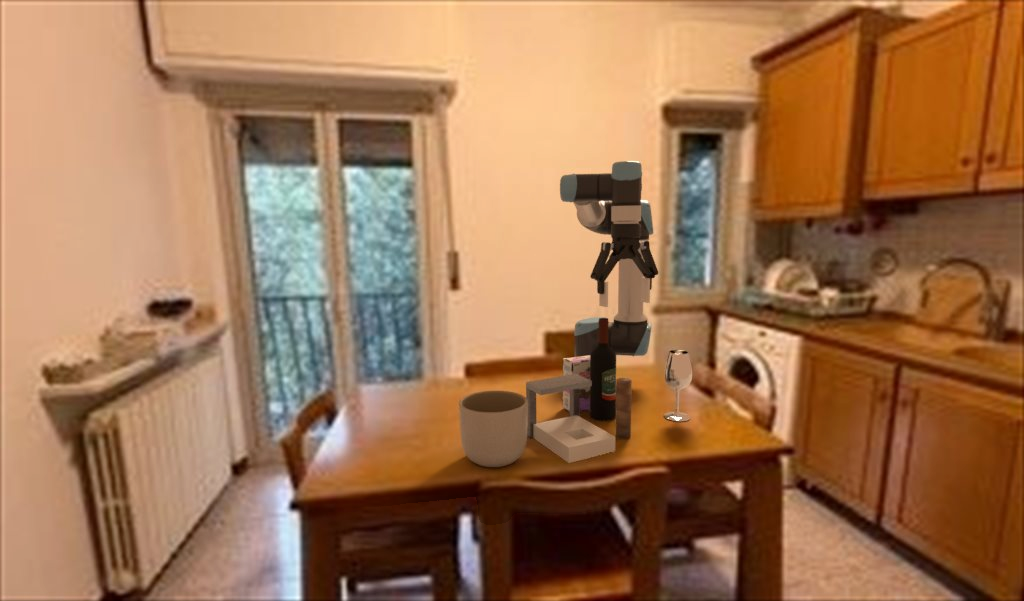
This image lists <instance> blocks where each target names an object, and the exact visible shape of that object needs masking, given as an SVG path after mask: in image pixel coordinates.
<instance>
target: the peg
mask: <svg viewBox="0 0 1024 601" xmlns="http://www.w3.org/2000/svg"><path fill="white" fill-rule="evenodd" d="M632 387H633V386H632V379H631V378H628V377H618V378H616V418H615V438H617V439H620V440H629V439H631V438H630V437H631V436H632V435H631V434H632Z"/></svg>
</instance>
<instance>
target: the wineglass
mask: <svg viewBox="0 0 1024 601" xmlns="http://www.w3.org/2000/svg"><path fill="white" fill-rule="evenodd" d="M667 354H668V355H667V358H666V362H665V368H664V380H665V382H666V383H667V385H668V386H669V387H670V388H672V389H673V390H675V395H676V397H675V398H676V399H675V411H668V412H665V413H664V414H663V417H664V418H665V419H666V420H668V421H672V422H687V421H689V420H690V419H691V416H690V415H689V414H688V413H685V412H681V411H680V410H679V409H680V408H679V407H680V406H679V405H680V404H679V401H680V391H681V390H684V389H685V388H687V387H689V385H690V384H691V382H692V378H693V370H692V369H693V368H692V364H691V357H690V353H689V351H687V350H683V349H671V350H668V353H667Z"/></svg>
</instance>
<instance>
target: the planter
mask: <svg viewBox="0 0 1024 601" xmlns="http://www.w3.org/2000/svg"><path fill="white" fill-rule="evenodd" d="M458 413H459V414H458V415H459V428H460V429H459V431H460V440H461V447H462V450H463V452H464V454H465V456H466V457H467V458H468V459H469V460H470V461H471V462H473V463H474V464H476V465H479V466H481V467H486V468H500V467H505V466H509V465H511V464H513V463H514V462H516V461H517V460H519V459H520V458H521V457H522V455H523V453H524V452H525V449H526V446H527V439H528V437H527V426H528V400H527V398H526V396H524V395H523V394H521V393H518V392H514V391H508V390H483V391H477V392H473V393H470V394H467V395H464V396H463V397H462V398H460V399H459V401H458Z"/></svg>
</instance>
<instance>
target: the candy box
mask: <svg viewBox="0 0 1024 601" xmlns="http://www.w3.org/2000/svg"><path fill="white" fill-rule="evenodd" d="M571 374H577V375H580V376H582V377H584V378H587V379H589V380H590V355H588V356H580V357H575V356H574V357H563V358H562V376H565V375H571ZM562 409H564V410H565V411H566V412H568V413H570V390H568V391H562ZM583 412H590V387H584V388H580V397H579V413H583Z"/></svg>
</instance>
